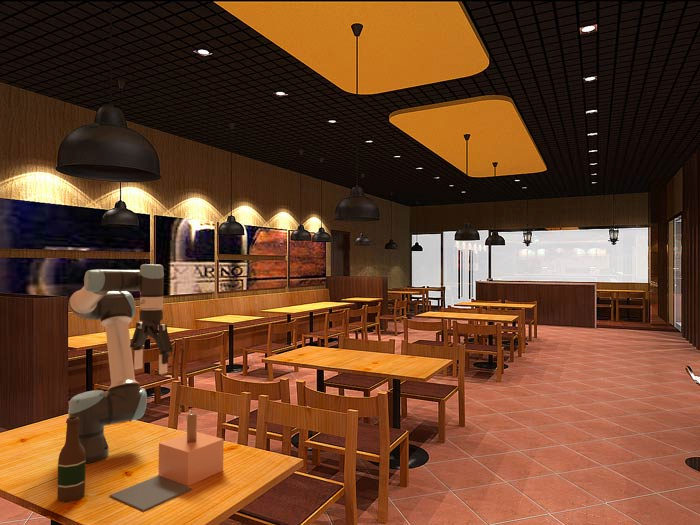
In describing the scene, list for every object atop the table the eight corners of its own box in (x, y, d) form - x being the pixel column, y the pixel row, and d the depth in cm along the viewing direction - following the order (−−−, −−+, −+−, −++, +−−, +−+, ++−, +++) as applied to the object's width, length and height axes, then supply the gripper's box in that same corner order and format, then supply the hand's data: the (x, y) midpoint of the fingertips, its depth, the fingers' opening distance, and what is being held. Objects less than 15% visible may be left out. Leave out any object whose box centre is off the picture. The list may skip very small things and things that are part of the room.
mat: (109, 496, 150) (109, 494, 150) (157, 477, 164) (157, 475, 164) (143, 511, 140) (143, 509, 140) (191, 489, 155) (191, 488, 155)
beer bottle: (64, 491, 153) (65, 414, 153) (90, 490, 153) (91, 413, 154) (51, 503, 145) (52, 422, 146) (78, 502, 146) (80, 421, 146)
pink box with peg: (158, 475, 165) (159, 415, 166) (194, 461, 178) (194, 405, 178) (187, 486, 157) (188, 423, 158) (223, 470, 170) (223, 412, 170)
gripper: (119, 308, 172) (118, 368, 172) (165, 311, 159) (164, 377, 158) (139, 306, 178) (138, 365, 178) (184, 310, 165) (183, 373, 164)
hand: (150, 371), depth 168 cm, fingers open, 13 cm apart
